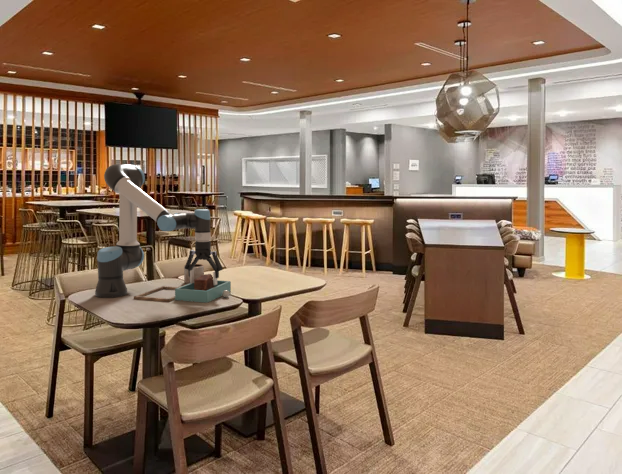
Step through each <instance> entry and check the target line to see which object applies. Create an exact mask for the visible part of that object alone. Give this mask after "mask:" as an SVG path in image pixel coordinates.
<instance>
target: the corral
mask: <svg viewBox="0 0 622 474" xmlns="http://www.w3.org/2000/svg"><path fill="white" fill-rule="evenodd" d="M179 287H180V286H178V287H177V286H166V285H162V286H160V287H156V288H154V289H151V290H148V291H145V292H142V293H139V294H137V295H134V296H133V300H140V301H141V300H142V301H155V302H167V303H170V302H173V301H175V300H174V299H175V295H173V296H172V297H169V298H166V297H165V298H164V297H154V296H153V297H152V296H148V295H150V294H154V293H157V292H159V291H162V290H171V289H176V288H179ZM172 300H173V301H172Z"/></svg>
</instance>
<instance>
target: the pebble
mask: <svg viewBox="0 0 622 474" xmlns="http://www.w3.org/2000/svg"><path fill="white" fill-rule="evenodd" d="M230 293H231V292H229V291H228V290H224V291H223V292H222V297H224V298H228V297H230Z"/></svg>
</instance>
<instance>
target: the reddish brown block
mask: <svg viewBox="0 0 622 474" xmlns="http://www.w3.org/2000/svg"><path fill="white" fill-rule="evenodd" d="M211 288H214V283H213V275H212V274H211V273H206V274H205V273H204V275H201V276H200V277H199V278H197V279H195V280H194V290H203V291H207V290H209V289H211Z"/></svg>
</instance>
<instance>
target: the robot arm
mask: <svg viewBox="0 0 622 474" xmlns="http://www.w3.org/2000/svg"><path fill="white" fill-rule="evenodd" d="M103 179H104V181H105V183H106V185H107V187H109V188H110V189H111V190H112V191H113V192H114V193H116V194H118V195H119V198H118V199H119V201H118V203H119V209H118V210H119V218H118V219H119V223H118V224H119V227H118V228H119V230H118V232H119V233H118V236H119V240H118V241H117V242H116V244H115V246H108V247H107V246H106V247H103V248H100V249H99V250H98V251H97V255H96V260H97V262H96V263H97V278H98V279H97V283H96V288H95V290H94V295H95V297H97V298H105V299H107V298H109V299H110V298H118V297H123V296H126V295H128V288H127V285H126V282H125V279H124V271H128V270H133V269H136V268H137V267H140V266H141V265H142V263H144V259H145V252H144V250H143V248H142V247H141V244H140V242H139V241H138V235H137V234H138V209H140V210H141V211H142V212H144V214H146V215H147V216H148V217H150V218H151V219H153V220H154V221H155V223H157V224H156V225H157V226H158V229H160V231H162V232H171V231H175V230H176V231H177V230H181V229H182V230H184V229H194V238H195V239H194V240H195V242H194V244H195V245H194V249H195V250H194V249H191V250H189V252H188V253H189V254H188V257H187V260H186V263H185V265H184V266H185V269H188V273H189V277H190V284H192V283H194V270H192V269H193V267H194V266H195V265H196V264H198V262H199V260H203V261H207V262H208V263H209V265H210V266H211V269H213V270H214V271H213V272H212V274H213V275H212V277H213V282H214V285H217V280H218V279H219V278H220V271H223V266H222V265H221V261H220V260H219V259H220V258H219V257H218V252H217V250H215V251H212V250H211V248H212V245H211V244H212V242H211V240H212V237H211V235H212V234H211V212H210V210H209V209H206V208H205V209H204V208H202V209H201V208H199V209H194V212H193V213H191V212H190V213H189V212H175V213H171V212H170V211H169V210H167V208H165V207H164V206H163V205H162V204H160V203H158V202H157V201H156V200H155V199H153V198H152V197H151V196H150V195H148V194H147V193H146V192H145V191H143V189H141V187H142V186H143V185H144V184H145V181H146V180H145V179H146V177H145V172H144V171H143V169H142V168H141V167H140V166H139V165H136V164H129V163H128V164H119V163H118V164H117V163H114V164H111V165H110V166H108V167H107V168H106V170H105V172H104V175H103ZM194 256H195V258H194ZM193 258H194V259H193ZM190 264H191V265H190Z"/></svg>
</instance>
